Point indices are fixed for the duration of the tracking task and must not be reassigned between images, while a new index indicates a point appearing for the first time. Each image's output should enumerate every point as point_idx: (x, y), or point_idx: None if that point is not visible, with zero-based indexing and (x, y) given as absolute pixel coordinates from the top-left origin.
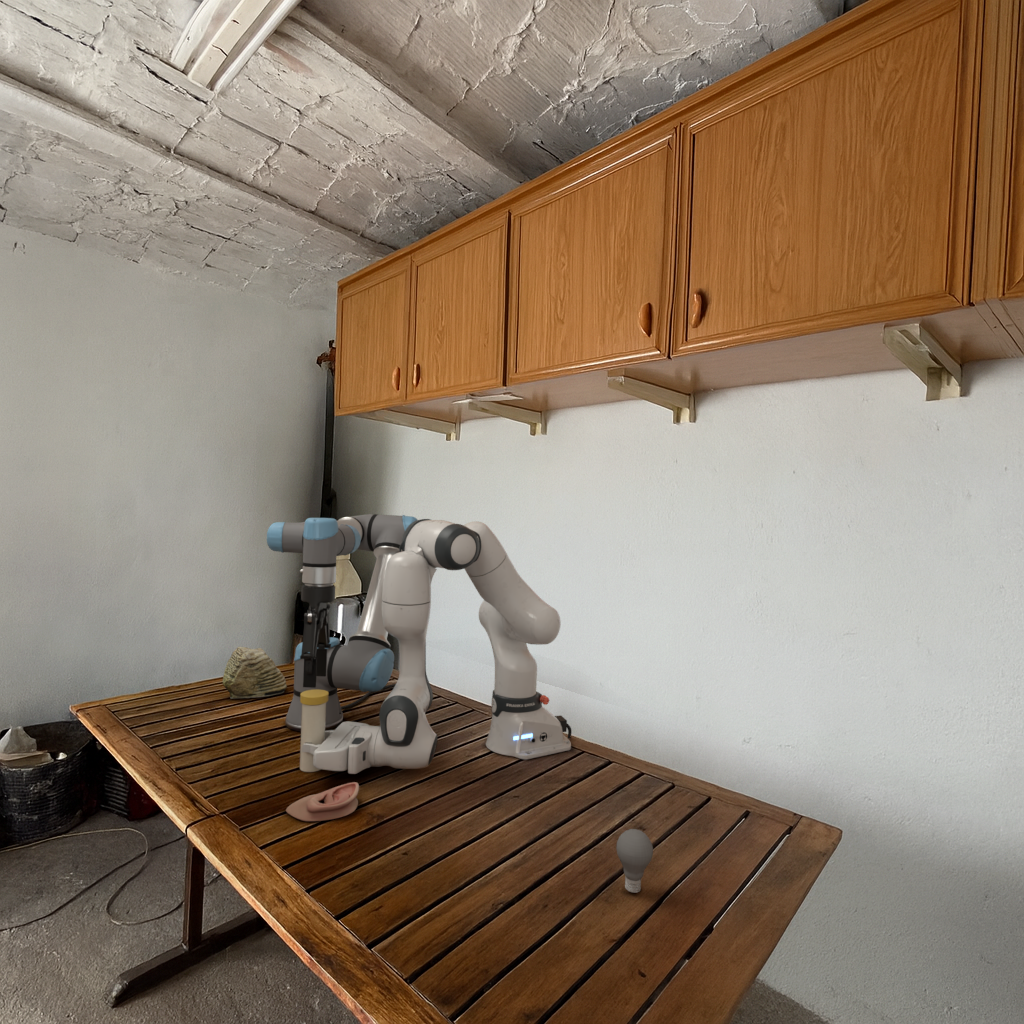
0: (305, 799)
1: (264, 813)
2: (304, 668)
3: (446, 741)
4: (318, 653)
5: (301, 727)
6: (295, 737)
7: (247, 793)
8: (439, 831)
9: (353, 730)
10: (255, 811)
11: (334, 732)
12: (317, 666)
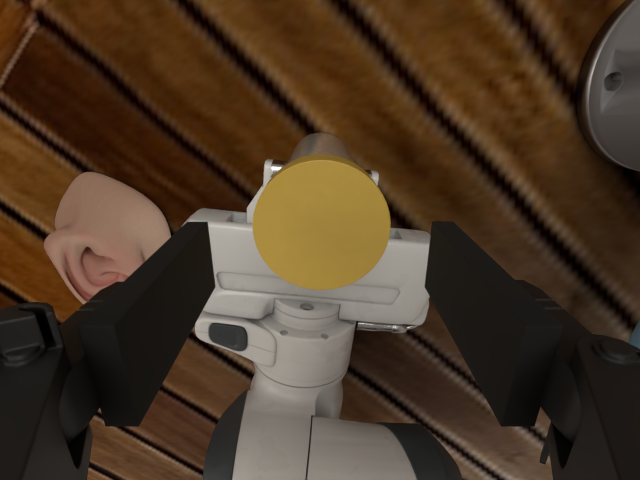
0: (91, 216)
1: (68, 125)
2: (132, 279)
3: (470, 416)
4: (497, 331)
5: (298, 153)
6: (541, 50)
7: (150, 42)
8: (98, 426)
9: (366, 290)
10: (70, 100)
11: None
12: (450, 268)
